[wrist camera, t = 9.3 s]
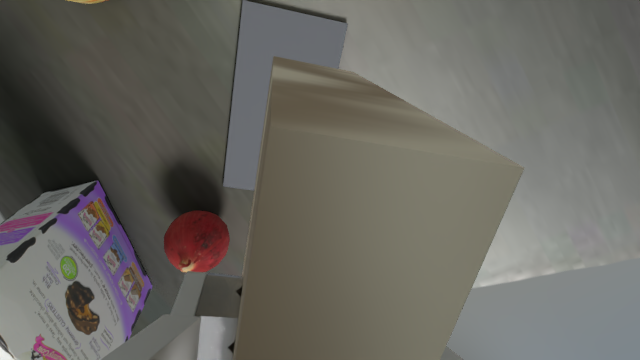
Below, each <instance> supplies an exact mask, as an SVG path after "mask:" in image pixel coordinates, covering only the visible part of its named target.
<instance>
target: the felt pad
mask: <svg viewBox="0 0 640 360" xmlns="http://www.w3.org/2000/svg"><path fill="white" fill-rule="evenodd" d="M347 25H348V24H347V23H343V22H339V21H334V20H330V19H325V18H321V17H316V16H312V15H308V14H303V13H299V12H294V11H290V10H285V9H281V8H276V7H272V6H268V5H263V4H259V3H254V2H250V1H245V0H243V3H242V12H241V22H240V31H239V41H238V50H237V59H236V69H235V78H234V88H233V97H232V107H231V116H230V126H229V135H228V144H227V154H226V163H225V173H224V182H223V186H224V187H231V188H239V189H247V190H254V189H255V182H256V175H257V168H258V161H259V154H260V147H261V140H262V133H263V126H264V119H265V112H266V105H267V98H268V91H269V84H270V76H271V69H272V62H273V56H276V57H281V58H286V59H291V60H296V61H301V62H306V63H311V64H316V65H321V66H326V67H331V68H336V69H338V68H339V63H340V58H341V53H342V49H343V44H344V39H345V34H346V30H347Z"/></svg>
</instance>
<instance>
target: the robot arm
mask: <svg viewBox="0 0 640 360" xmlns="http://www.w3.org/2000/svg"><path fill="white" fill-rule="evenodd" d="M243 278H244V277H242V276H233V275H224V274H215V273H203V272H193V271H187V273H186V274H185V276H184V279H183V282H182V284H181V287H180V290H179V292H178V295H177V298H176V301H175V303H174V306H173V309H172V312H171V314H170V315H163V316H161V317H160V318H159V319H157V320H156V321H154V322H153V323H151V324H150V325H149V326H147V327H146V328H144V329H143V330H142V331H140V332H139V333H137V334H136V335H135V336H133V337H132V338H130V339H129V340H127V341H126V342H125V343H123V344H122V345H120V346H119V347H118V348H116V349H115V350H113V351H112V352H111V353H109V354H108V355H106V356H105V357H103V358H102V359H101V360H233V352H234V345H235V339H236V332H237V325H238V318H239V310H240V302H241V293H242V286H243ZM440 360H463V359H462V358H461V357H459V356H458V355H457V354H455V353H454V352H453V351H452V350H451V349H449V348H448V347H447V346H446V347H445V350H444V352H443V354H442V356H441V359H440Z"/></svg>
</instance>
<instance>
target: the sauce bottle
mask: <svg viewBox="0 0 640 360" xmlns="http://www.w3.org/2000/svg"><path fill="white" fill-rule="evenodd" d="M68 1H74V2H79V3H89V4H91V3H98V2H104V1H106V0H68ZM107 1H108V0H107Z"/></svg>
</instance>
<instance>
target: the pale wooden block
mask: <svg viewBox="0 0 640 360" xmlns="http://www.w3.org/2000/svg"><path fill="white" fill-rule="evenodd" d="M523 170H524V167H522V166H520V165H519V164H517V163H515V162H513V161H511V160H510V159H508V158H506V157H504V156H502V155H501V154H499V153H497V152H495V151H493V150H492V149H490V148H488V147H486V146H485V145H483V144H481V143H479V142H477V141H476V140H474V139H472V138H470V137H468V136H467V135H465V134H463V133H461V132H459V131H458V130H456V129H454V128H452V127H451V126H449V125H447V124H445V123H443V122H442V121H440V120H438V119H436V118H434V117H433V116H431V115H429V114H427V113H426V112H424V111H422V110H420V109H418V108H417V107H415V106H413V105H411V104H409V103H408V102H406V101H404V100H402V99H400V98H399V97H397V96H395V95H393V94H392V93H390V92H388V91H386V90H384V89H383V88H381V87H379V86H377V85H375V84H374V83H372V82H370V81H368V80H367V79H365V78H363V77H361V76H359V75H358V74H356V73H354V72H351V71H346V70H341V69H336V68H331V67H326V66H321V65H316V64H311V63H306V62H301V61H296V60H291V59H286V58H281V57H276V56H273V62H272V69H271V76H270V84H269V91H268V98H267V105H266V112H265V119H264V126H263V133H262V140H261V147H260V154H259V161H258V168H257V175H256V182H255V189H254V196H253V203H252V210H251V217H250V224H249V231H248V238H247V245H246V252H245V259H244V266H243V273H242V277H244V278H243V286H242V293H241V302H240V310H239V318H238V325H237V332H236V339H235V345H234V352H233V360H440V359H441V356H442V354H443V352H444V350H445V347H446V345H447V342H448V340H449V338H450V336H451V334H452V331H453V329H454V327H455V324H456V322H457V320H458V318H459V315H460V313H461V310H462V309H463V306H464V304H465V302H466V299H467V297H468V295H469V293H470V290H471V288H472V286H473V284H474V281H475V279H476V277H477V275H478V272H479V270H480V268H481V266H482V263H483V261H484V259H485V256H486V254H487V252H488V250H489V247H490V245H491V243H492V241H493V238H494V236H495V234H496V232H497V229H498V227H499V225H500V222H501V220H502V218H503V216H504V213H505V211H506V209H507V207H508V204H509V202H510V200H511V197H512V195H513V193H514V191H515V188H516V186H517V184H518V182H519V179H520V177H521V175H522V172H523Z"/></svg>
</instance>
